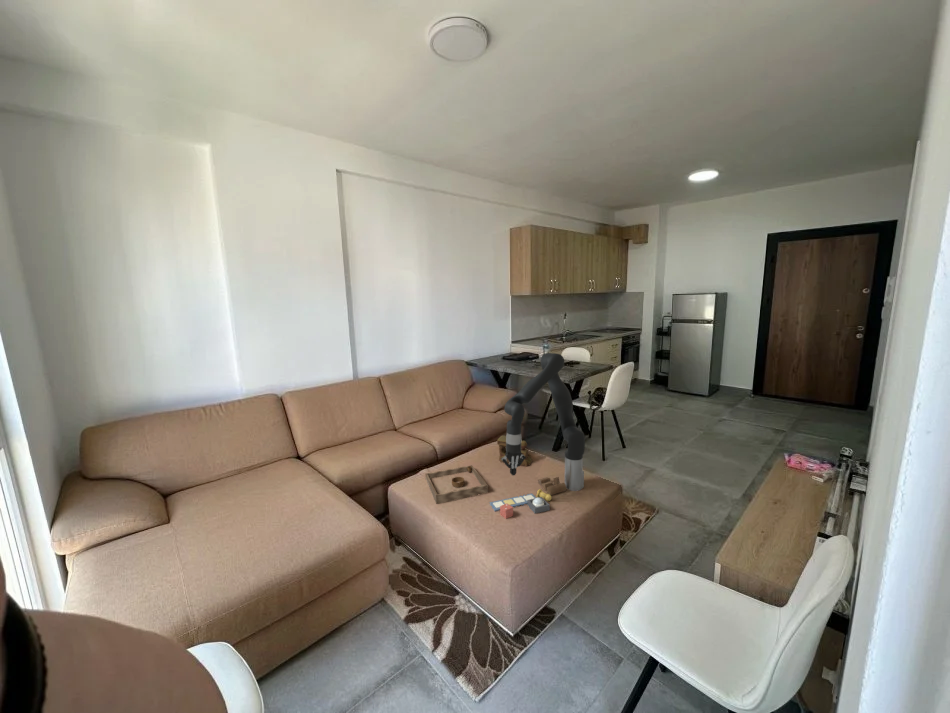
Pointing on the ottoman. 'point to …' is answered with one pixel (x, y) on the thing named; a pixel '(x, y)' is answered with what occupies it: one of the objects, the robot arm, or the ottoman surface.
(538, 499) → the dome
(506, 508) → the die
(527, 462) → the wooden toy train
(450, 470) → the serving frame
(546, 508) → the base
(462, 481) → the place setting
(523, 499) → the board
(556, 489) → the wooden block set
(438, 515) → the ottoman surface
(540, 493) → the pawn
